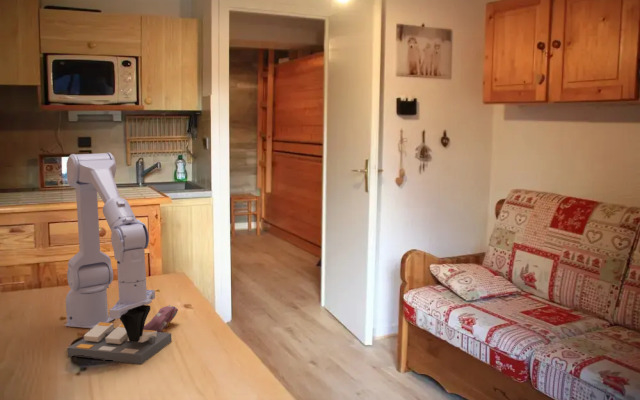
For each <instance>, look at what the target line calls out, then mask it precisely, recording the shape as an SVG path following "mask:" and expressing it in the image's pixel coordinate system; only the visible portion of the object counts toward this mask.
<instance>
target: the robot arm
mask: <svg viewBox="0 0 640 400" xmlns="http://www.w3.org/2000/svg"><path fill="white" fill-rule="evenodd" d="M116 171H117V163H116V158H115V156H114V155H113V154H112V152H110V151H109V152H103V153H84V154H81V153H79V154H76V153H71V154H70V155H69V156H68V158H67V160H66V179H67V182H68V184H67V185H68V186H69V187H71V188H74V189H75V191H74V192H75V197H76V198H75V199H76V213H77V214H76V215H77V216H76V217H77V228H78V229H77V231H78V232H77V233H78V247H79V251H78V252H77V253H76V254H74V255H73V256H72V257H71V258H70V259H69V260H68V262H67V271H66V278H67V283H68V286H69V288H70V290H69V291H68V292H67V294H66V297H65V311H66V312H65V313H66V323H65V324H64V326H65V327H73V328H83V329H92V328H93V327H95V326H96V325H97V324H98V323H99V322H104V323H112V321H114V320H120V322H121V324H123V325H124V327H125V330H126V332H127V335H128V338H129V341H133V342H138V341H139V339H140V336H142V334H143V329H144V326H145V325H146V324H145V323H146V320H147V318H148V316H149V313H150V312H151V305H149V304H151V303H152V300H155V299H156V291H155V290H154V289H147V274H146V273H147V272H146V256H145V255H146V253H145V249H147V248H148V246H149V244H150V236H149V230H148V228H147V225H146V224H145V223H144V222H142V221H141V220H140V219H137V218H136V216H135V214H134V211H133V209H132V207H131V205H130V203H129V200H127V199H126V198H122V197H121V195H120V192H119V189H118V186H117V184H116V180H115V177H116V173H117V172H116ZM98 196H99V197H100V199H101V200H102V202H103V203H104V205H103V207H102V214H103V216H104V217H105V220H106V223H107V225H108V226H109V229H110V232H111V236H110V241H111V247H112V249H113V256H114V259H115V260H116V266H117V267H116V268H117V284H118V300H117V302H116V303H115V304H114V305H113V307H111V308H110V309H109V308H108V307H109V306H108V305H109V304H108V291H107V289H109V288H110V286H109V285H111V284H112V282H113V281H114V270H113V267H112V260H111V258H110V256H109V255H108V254H107V253H105V252H103V251H102V250H101V243H100V241H101V239H100V223H99V221H100V220H99V206H98V205H99V204H98V201H99V200H98Z"/></svg>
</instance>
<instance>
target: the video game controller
mask: <svg viewBox="0 0 640 400" xmlns="http://www.w3.org/2000/svg"><path fill="white" fill-rule="evenodd" d="M178 311H179V308H177V307H175V306H173V305H170V304H169V305H168V306H162V307H161V308H159V310H158V312H157V313H156V314H155V315H154V316H153V317H152V319H151V320H150V321H149V322H147V324H144V329H143V330H152V331H157V332H163V330H164V328H165V329H167V328H168V327H169V326H170V325H171V322H172V321H173V319H175V317H176V316H177V314H178Z"/></svg>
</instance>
